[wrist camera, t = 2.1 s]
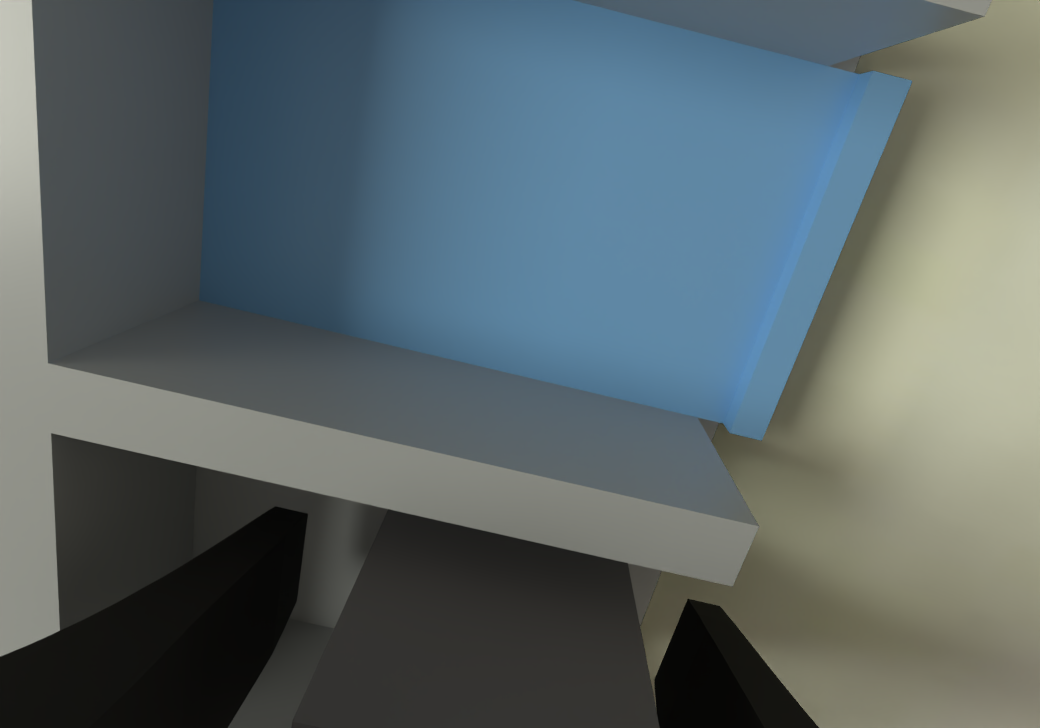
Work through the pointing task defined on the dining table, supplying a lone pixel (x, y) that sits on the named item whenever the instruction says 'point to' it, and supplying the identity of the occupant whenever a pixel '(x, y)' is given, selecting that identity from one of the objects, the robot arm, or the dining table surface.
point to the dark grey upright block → (481, 637)
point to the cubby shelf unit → (409, 277)
